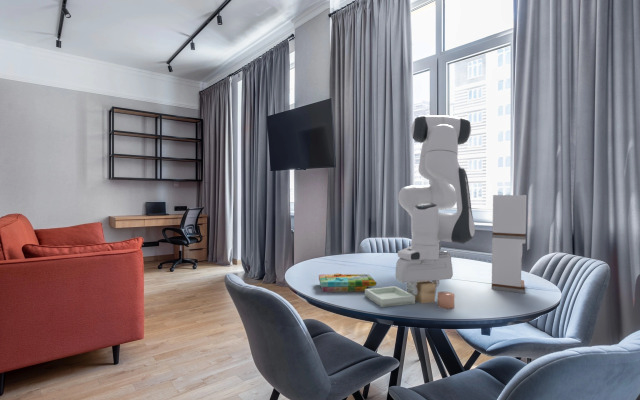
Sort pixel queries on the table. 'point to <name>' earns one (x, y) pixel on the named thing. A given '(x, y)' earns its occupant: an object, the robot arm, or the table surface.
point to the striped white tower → (508, 242)
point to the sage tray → (389, 296)
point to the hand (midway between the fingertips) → (424, 293)
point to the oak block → (425, 292)
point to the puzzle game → (345, 282)
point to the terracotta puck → (446, 300)
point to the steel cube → (409, 288)
